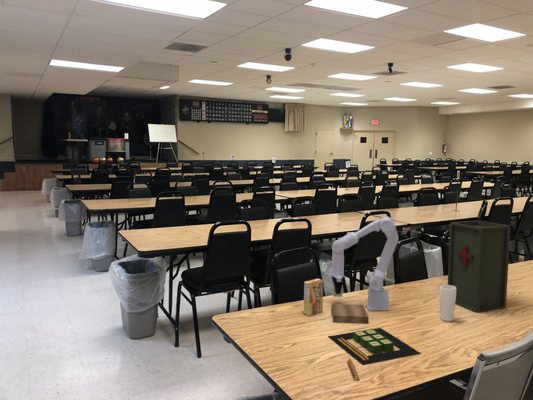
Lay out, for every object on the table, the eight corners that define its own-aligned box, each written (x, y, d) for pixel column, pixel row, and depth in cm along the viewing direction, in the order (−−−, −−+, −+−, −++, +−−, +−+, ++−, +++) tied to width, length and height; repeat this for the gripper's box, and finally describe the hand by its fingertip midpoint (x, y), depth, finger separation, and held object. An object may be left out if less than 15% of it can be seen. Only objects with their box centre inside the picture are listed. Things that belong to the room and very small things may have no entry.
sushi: (327, 338, 170) (328, 329, 169) (380, 329, 178) (380, 321, 178) (362, 366, 146) (362, 356, 146) (421, 355, 155) (421, 345, 155)
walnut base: (363, 311, 198) (363, 305, 198) (368, 323, 184) (368, 316, 183) (331, 310, 200) (331, 304, 199) (333, 322, 185) (333, 315, 185)
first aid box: (505, 308, 203) (510, 225, 199) (477, 313, 196) (481, 228, 192) (474, 296, 220) (477, 220, 216) (446, 300, 213) (450, 222, 209)
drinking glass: (455, 318, 190) (456, 285, 188) (454, 323, 184) (456, 290, 182) (438, 316, 192) (440, 283, 191) (438, 321, 186) (439, 288, 185)
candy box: (316, 309, 200) (317, 278, 199) (323, 312, 197) (323, 280, 196) (303, 314, 195) (303, 281, 193) (309, 316, 192) (310, 283, 190)
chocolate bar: (352, 381, 136) (353, 374, 136) (345, 363, 148) (346, 357, 148) (360, 381, 136) (361, 374, 136) (353, 363, 148) (353, 357, 148)
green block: (341, 293, 209) (341, 284, 209) (342, 296, 205) (342, 286, 204) (332, 293, 210) (332, 283, 209) (333, 296, 205) (333, 286, 205)
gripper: (328, 261, 213) (328, 287, 215) (330, 268, 199) (330, 296, 200) (342, 261, 213) (342, 287, 214) (345, 268, 199) (345, 297, 200)
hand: (337, 292), depth 207 cm, fingers closed on green block, 4 cm apart
